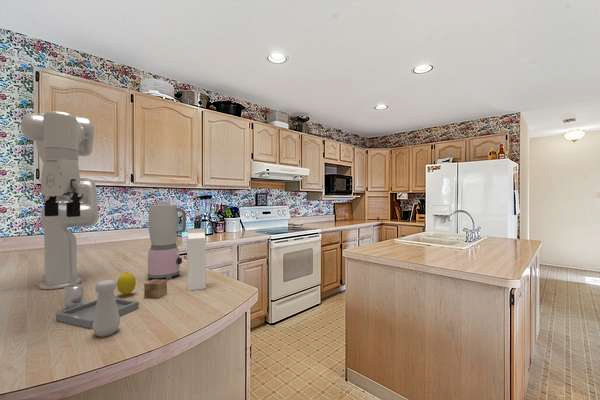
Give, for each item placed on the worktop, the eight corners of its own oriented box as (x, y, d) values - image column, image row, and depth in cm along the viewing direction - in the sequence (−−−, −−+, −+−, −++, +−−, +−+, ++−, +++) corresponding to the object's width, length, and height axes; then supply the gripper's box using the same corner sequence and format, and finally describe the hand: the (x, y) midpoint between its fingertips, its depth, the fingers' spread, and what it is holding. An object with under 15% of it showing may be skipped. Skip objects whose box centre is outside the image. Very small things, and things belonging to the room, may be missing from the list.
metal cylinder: (61, 311, 83) (61, 287, 83) (77, 305, 88) (77, 283, 87) (71, 313, 82) (70, 289, 82) (87, 307, 86) (86, 284, 86)
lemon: (127, 298, 93) (126, 274, 93) (113, 297, 94) (112, 274, 94) (139, 293, 99) (139, 270, 99) (126, 292, 100) (126, 269, 100)
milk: (187, 286, 106) (186, 228, 106) (204, 284, 109) (203, 227, 109) (188, 291, 101) (187, 230, 100) (206, 288, 103) (205, 229, 103)
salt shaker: (102, 327, 73) (101, 277, 72) (125, 326, 73) (124, 277, 73) (86, 339, 67) (86, 285, 67) (112, 338, 67) (111, 284, 67)
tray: (55, 320, 77) (55, 313, 77) (106, 302, 90) (106, 296, 90) (90, 328, 72) (90, 321, 72) (138, 308, 85) (138, 301, 85)
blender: (141, 281, 112) (140, 201, 112) (157, 272, 125) (156, 201, 124) (180, 281, 112) (179, 201, 112) (192, 272, 124) (191, 201, 124)
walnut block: (144, 298, 94) (144, 283, 94) (153, 293, 99) (153, 279, 98) (158, 299, 93) (158, 284, 93) (166, 293, 98) (166, 279, 98)
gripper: (26, 156, 79) (27, 216, 79) (66, 152, 73) (67, 218, 73) (57, 159, 86) (58, 215, 86) (95, 156, 80) (96, 216, 80)
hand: (62, 216), depth 80 cm, fingers open, 9 cm apart
